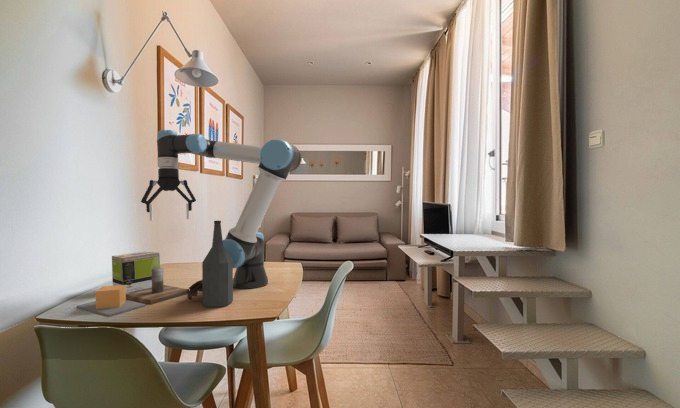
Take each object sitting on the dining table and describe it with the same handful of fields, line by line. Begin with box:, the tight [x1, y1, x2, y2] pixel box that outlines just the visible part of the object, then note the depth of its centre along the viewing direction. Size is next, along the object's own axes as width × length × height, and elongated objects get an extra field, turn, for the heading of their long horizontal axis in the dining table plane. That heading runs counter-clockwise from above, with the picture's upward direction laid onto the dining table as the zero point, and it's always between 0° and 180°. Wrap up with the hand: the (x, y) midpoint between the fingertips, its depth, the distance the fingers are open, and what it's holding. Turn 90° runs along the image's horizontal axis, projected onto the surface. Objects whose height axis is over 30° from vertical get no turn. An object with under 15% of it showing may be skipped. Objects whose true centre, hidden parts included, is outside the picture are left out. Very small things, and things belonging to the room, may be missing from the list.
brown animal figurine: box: [186, 279, 203, 300], centre depth 128 cm, size 12×10×8 cm
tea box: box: [111, 250, 161, 294], centre depth 143 cm, size 15×10×15 cm
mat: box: [75, 299, 147, 317], centre depth 118 cm, size 20×12×1 cm, turn 63°
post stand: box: [126, 267, 188, 305], centre depth 132 cm, size 16×16×10 cm
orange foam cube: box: [95, 285, 127, 309], centre depth 118 cm, size 7×7×6 cm
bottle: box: [201, 220, 234, 309], centre depth 122 cm, size 10×10×30 cm
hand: (170, 219), depth 140 cm, fingers open, 13 cm apart
